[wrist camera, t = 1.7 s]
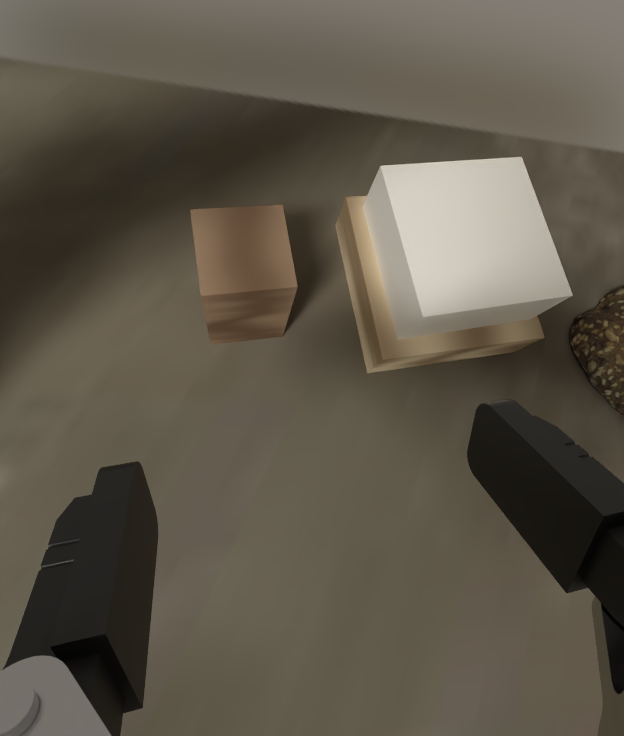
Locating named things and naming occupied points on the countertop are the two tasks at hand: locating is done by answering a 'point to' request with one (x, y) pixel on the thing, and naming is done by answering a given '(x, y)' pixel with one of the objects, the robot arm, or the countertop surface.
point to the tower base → (377, 320)
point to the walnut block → (244, 271)
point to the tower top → (462, 245)
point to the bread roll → (603, 346)
